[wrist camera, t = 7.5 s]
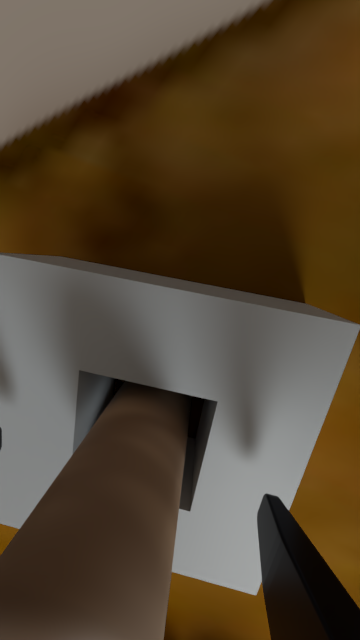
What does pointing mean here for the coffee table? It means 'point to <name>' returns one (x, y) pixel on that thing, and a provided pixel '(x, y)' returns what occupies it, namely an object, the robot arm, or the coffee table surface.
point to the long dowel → (103, 529)
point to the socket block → (169, 374)
